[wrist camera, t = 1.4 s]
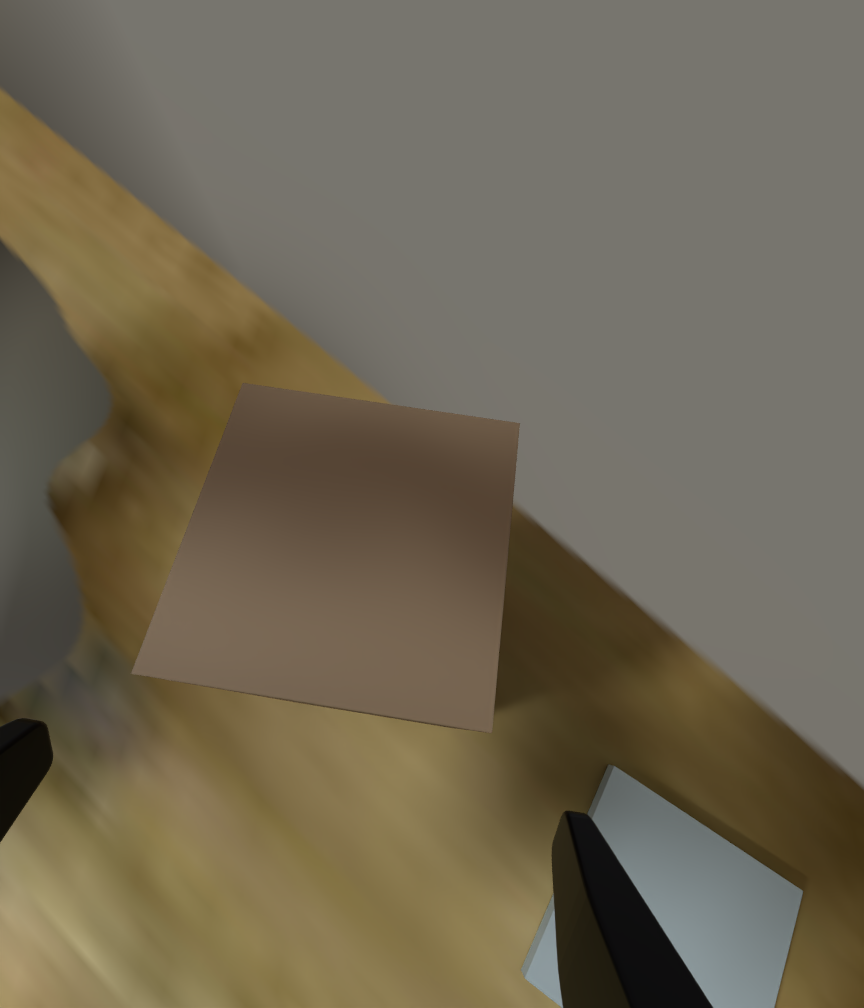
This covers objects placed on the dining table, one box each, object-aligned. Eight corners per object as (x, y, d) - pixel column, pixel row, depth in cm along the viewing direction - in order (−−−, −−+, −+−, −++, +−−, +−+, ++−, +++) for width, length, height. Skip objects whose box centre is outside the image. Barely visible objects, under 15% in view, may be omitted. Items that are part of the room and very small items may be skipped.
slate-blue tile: (727, 1131, 15) (739, 1146, 14) (521, 969, 16) (524, 978, 15) (790, 885, 17) (803, 890, 17) (608, 764, 18) (614, 765, 18)
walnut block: (446, 727, 19) (492, 733, 8) (293, 701, 19) (130, 673, 8) (465, 577, 21) (519, 423, 10) (330, 556, 21) (242, 382, 10)
